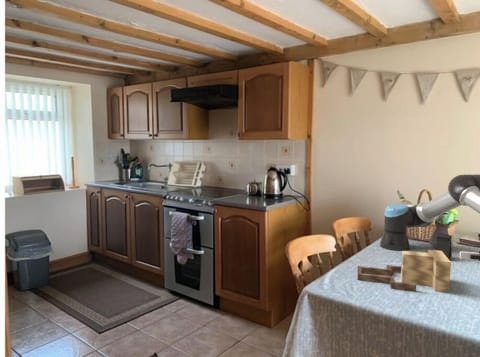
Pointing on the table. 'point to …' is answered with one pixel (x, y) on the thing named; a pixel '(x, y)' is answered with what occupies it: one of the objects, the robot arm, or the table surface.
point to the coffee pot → (439, 229)
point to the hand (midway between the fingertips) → (460, 255)
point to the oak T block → (426, 269)
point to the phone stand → (444, 244)
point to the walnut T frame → (384, 277)
